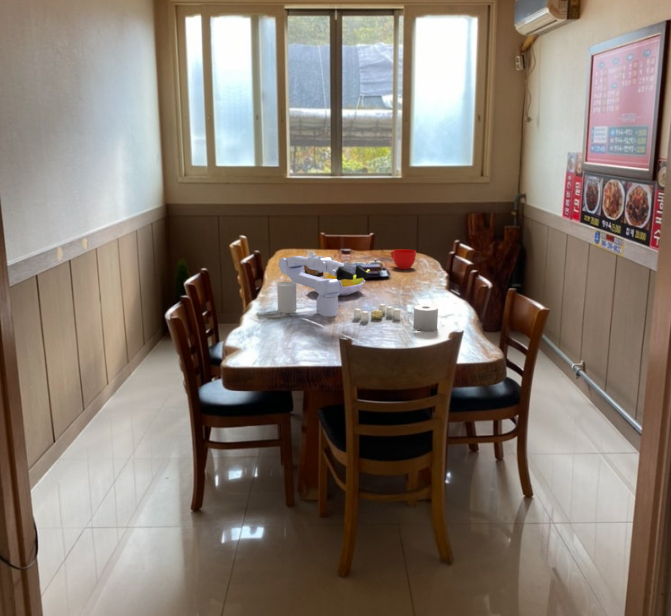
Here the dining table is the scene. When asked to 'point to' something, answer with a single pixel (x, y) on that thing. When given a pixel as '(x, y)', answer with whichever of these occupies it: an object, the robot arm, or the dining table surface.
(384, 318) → the field board
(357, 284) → the fruit bowl
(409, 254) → the ceramic cup
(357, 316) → the spacers
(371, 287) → the dining table surface
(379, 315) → the brass nut
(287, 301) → the cup
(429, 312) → the toilet tissue
